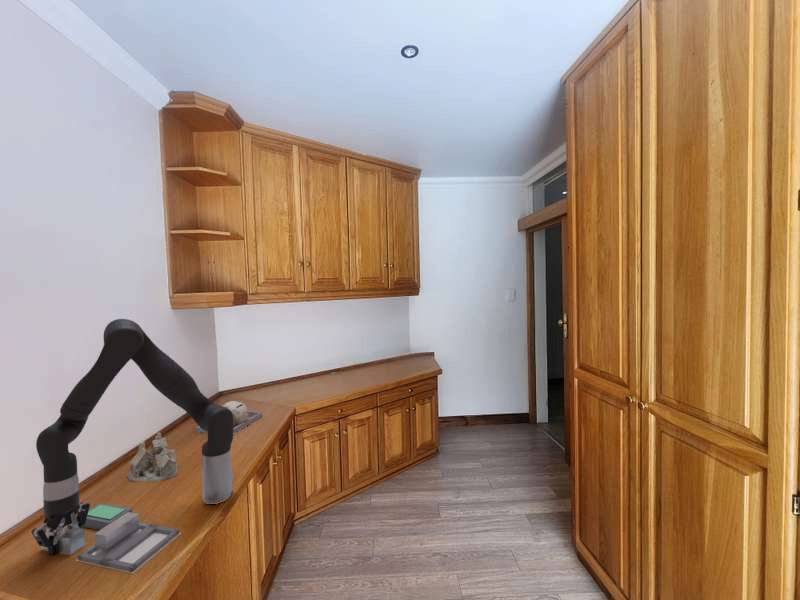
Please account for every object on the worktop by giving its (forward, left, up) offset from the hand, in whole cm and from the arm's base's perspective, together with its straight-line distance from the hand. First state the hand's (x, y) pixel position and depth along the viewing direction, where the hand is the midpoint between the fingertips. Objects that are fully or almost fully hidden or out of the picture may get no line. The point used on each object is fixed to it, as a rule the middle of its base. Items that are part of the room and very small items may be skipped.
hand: (63, 549), depth 106 cm
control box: (-12, 0, -1) cm, 12 cm away
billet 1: (0, 0, -1) cm, 1 cm away
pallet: (-5, +18, -1) cm, 19 cm away
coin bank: (-93, -16, -1) cm, 94 cm away
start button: (-12, 0, +2) cm, 12 cm away
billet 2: (-5, +13, +1) cm, 14 cm away
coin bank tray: (-93, -16, -1) cm, 94 cm away
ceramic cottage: (-41, -12, -1) cm, 43 cm away
